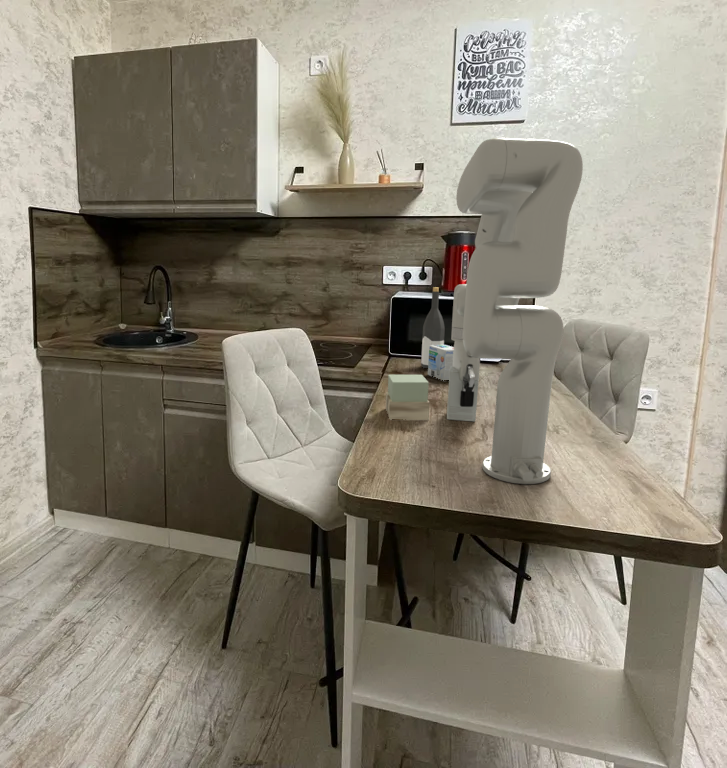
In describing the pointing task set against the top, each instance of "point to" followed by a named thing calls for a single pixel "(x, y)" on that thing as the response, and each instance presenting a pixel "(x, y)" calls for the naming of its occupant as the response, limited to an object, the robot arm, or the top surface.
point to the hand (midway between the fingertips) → (462, 401)
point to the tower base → (407, 410)
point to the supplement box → (454, 399)
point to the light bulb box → (440, 361)
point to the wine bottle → (432, 329)
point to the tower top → (408, 388)
